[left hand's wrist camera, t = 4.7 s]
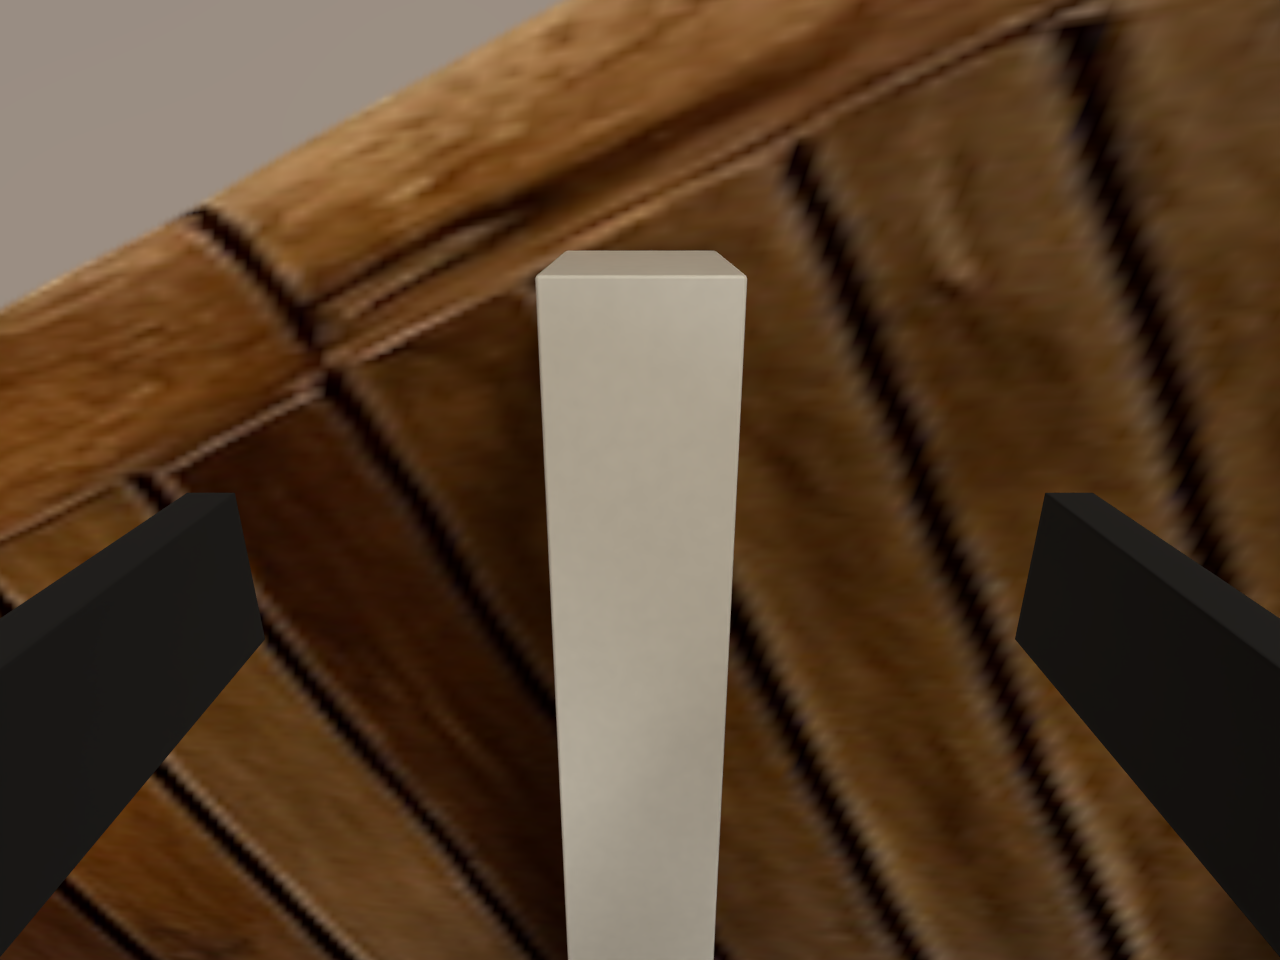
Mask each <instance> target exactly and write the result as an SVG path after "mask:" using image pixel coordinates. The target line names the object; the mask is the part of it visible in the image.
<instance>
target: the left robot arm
mask: <svg viewBox="0 0 1280 960" xmlns="http://www.w3.org/2000/svg"><path fill="white" fill-rule="evenodd" d="M264 640H265V637H264V632H263V627H262V623H261V618H260V613H259V608H258V603H257V598H256V594H255V589H254V584H253V579H252V574H251V570H250V565H249V560H248V555H247V550H246V545H245V541H244V536H243V531H242V526H241V521H240V516H239V512H238V507H237V502H236V497H235V493H186V494H185V495H184V496H182V497H181V498H179V499H178V500H176V501H175V502H173V503H172V504H170V505H169V506H167V507H166V508H164V509H163V510H161V511H160V512H158V513H157V514H155V515H154V516H152V517H151V518H149V519H148V520H146V521H145V522H143V523H142V524H140V525H139V526H137V527H136V528H134V529H133V530H131V531H130V532H128V533H127V534H125V535H124V536H122V537H121V538H120V539H118V540H117V541H115V542H114V543H112V544H111V545H109V546H108V547H106V548H105V549H103V550H102V551H100V552H99V553H97V554H96V555H94V556H93V557H91V558H90V559H88V560H87V561H85V562H84V563H82V564H81V565H79V566H78V567H76V568H75V569H73V570H72V571H70V572H69V573H67V574H66V575H64V576H63V577H61V578H60V579H58V580H57V581H55V582H54V583H53V584H51V585H50V586H48V587H47V588H45V589H44V590H42V591H41V592H39V593H38V594H36V595H35V596H33V597H32V598H30V599H29V600H27V601H26V602H24V603H23V604H21V605H20V606H18V607H17V608H15V609H14V610H12V611H11V612H9V613H8V614H6V615H5V616H3V617H2V618H0V956H1V955H2V954H3V953H4V952H5V950H6V949H7V948H8V947H9V946H10V944H11V943H12V942H13V941H14V940H15V938H16V937H17V936H18V935H19V934H20V932H21V931H22V930H23V929H24V928H25V926H26V925H27V924H28V923H29V922H30V920H31V919H32V918H33V917H34V916H35V914H36V913H37V912H38V911H39V910H40V908H41V907H42V906H43V905H44V904H45V902H46V901H47V900H48V899H49V898H50V896H51V895H52V894H53V893H54V892H55V890H56V889H57V888H58V887H59V886H60V884H61V883H62V882H63V881H64V880H65V878H66V877H67V876H68V875H69V874H70V872H71V871H72V870H73V869H74V868H75V866H76V865H77V864H78V863H79V862H80V860H81V859H82V858H83V857H84V856H85V854H86V853H87V852H88V851H89V850H90V848H91V847H92V846H93V845H94V844H95V842H96V841H97V840H98V839H99V838H100V836H101V835H102V834H103V833H104V832H105V830H106V829H107V828H108V827H109V826H110V824H111V823H112V822H113V821H114V820H115V818H116V817H117V816H118V815H119V814H120V812H121V811H122V810H123V809H124V808H125V806H126V805H127V804H128V803H129V802H130V800H131V799H132V798H133V797H134V796H135V794H136V793H137V792H138V791H139V790H140V788H141V787H142V786H143V785H144V784H145V782H146V781H147V780H148V779H149V778H150V776H151V775H152V774H153V773H154V772H155V770H156V769H157V768H158V767H159V766H160V764H161V763H162V762H163V761H164V760H165V758H166V757H167V756H168V755H169V754H170V752H171V751H172V750H173V749H174V748H175V746H176V745H177V744H178V743H179V742H180V740H181V739H182V738H183V737H184V736H185V734H186V733H187V732H188V731H189V730H190V728H191V727H192V726H193V725H194V724H195V722H196V721H197V720H198V719H199V718H200V716H201V715H202V714H203V713H204V712H205V710H206V709H207V708H208V707H209V706H210V704H211V703H212V702H213V701H214V700H215V698H216V697H217V696H218V695H219V694H220V692H221V691H222V690H223V689H224V688H225V686H226V685H227V684H228V683H229V682H230V680H231V679H232V678H233V677H234V676H235V674H236V673H237V672H238V671H239V670H240V668H241V667H242V666H243V665H244V664H245V662H246V661H247V660H248V659H249V658H250V656H251V655H252V654H253V653H254V652H255V650H256V649H257V648H258V647H259V646H260V644H261V643H262V642H263V641H264ZM1015 640H1016V641H1017V642H1018V643H1019V644H1020V646H1021V647H1022V648H1023V649H1024V650H1025V652H1026V653H1027V654H1028V655H1029V656H1030V658H1031V659H1032V660H1033V661H1034V662H1035V664H1036V665H1037V666H1038V667H1039V668H1040V670H1041V671H1042V672H1043V673H1044V674H1045V676H1046V677H1047V678H1048V679H1049V680H1050V682H1051V683H1052V684H1053V685H1054V686H1055V688H1056V689H1057V690H1058V691H1059V692H1060V694H1061V695H1062V696H1063V697H1064V698H1065V700H1066V701H1067V702H1068V703H1069V704H1070V706H1071V707H1072V708H1073V709H1074V710H1075V712H1076V713H1077V714H1078V715H1079V716H1080V718H1081V719H1082V720H1083V721H1084V722H1085V724H1086V725H1087V726H1088V727H1089V728H1090V730H1091V731H1092V732H1093V733H1094V734H1095V736H1096V737H1097V738H1098V739H1099V740H1100V742H1101V743H1102V744H1103V745H1104V746H1105V748H1106V749H1107V750H1108V751H1109V752H1110V754H1111V755H1112V756H1113V757H1114V758H1115V760H1116V761H1117V762H1118V763H1119V764H1120V766H1121V767H1122V768H1123V769H1124V770H1125V772H1126V773H1127V774H1128V775H1129V776H1130V778H1131V779H1132V780H1133V781H1134V782H1135V784H1136V785H1137V786H1138V787H1139V788H1140V790H1141V791H1142V792H1143V793H1144V794H1145V796H1146V797H1147V798H1148V799H1149V800H1150V802H1151V803H1152V804H1153V805H1154V806H1155V808H1156V809H1157V810H1158V811H1159V812H1160V814H1161V815H1162V816H1163V817H1164V818H1165V820H1166V821H1167V822H1168V823H1169V824H1170V826H1171V827H1172V828H1173V829H1174V830H1175V832H1176V833H1177V834H1178V835H1179V836H1180V838H1181V839H1182V840H1183V841H1184V842H1185V844H1186V845H1187V846H1188V847H1189V848H1190V850H1191V851H1192V852H1193V853H1194V854H1195V856H1196V857H1197V858H1198V859H1199V860H1200V862H1201V863H1202V864H1203V865H1204V866H1205V868H1206V869H1207V870H1208V871H1209V872H1210V874H1211V875H1212V876H1213V877H1214V878H1215V880H1216V881H1217V882H1218V883H1219V884H1220V886H1221V887H1222V888H1223V889H1224V890H1225V892H1226V893H1227V894H1228V895H1229V896H1230V898H1231V899H1232V900H1233V901H1234V902H1235V904H1236V905H1237V906H1238V907H1239V908H1240V910H1241V911H1242V912H1243V913H1244V914H1245V916H1246V917H1247V918H1248V919H1249V920H1250V922H1251V923H1252V924H1253V925H1254V926H1255V928H1256V929H1257V930H1258V931H1259V932H1260V934H1261V935H1262V936H1263V937H1264V938H1265V940H1266V941H1267V942H1268V943H1269V944H1270V946H1271V947H1272V948H1273V949H1274V950H1275V952H1276V953H1277V954H1278V955H1279V956H1280V618H1278V617H1277V616H1275V615H1274V614H1272V613H1271V612H1269V611H1268V610H1266V609H1265V608H1263V607H1262V606H1260V605H1259V604H1257V603H1256V602H1254V601H1253V600H1251V599H1250V598H1248V597H1247V596H1245V595H1244V594H1242V593H1241V592H1239V591H1238V590H1236V589H1235V588H1233V587H1232V586H1230V585H1229V584H1227V583H1226V582H1225V581H1223V580H1222V579H1220V578H1219V577H1217V576H1216V575H1214V574H1213V573H1211V572H1210V571H1208V570H1207V569H1205V568H1204V567H1202V566H1201V565H1199V564H1198V563H1196V562H1195V561H1193V560H1192V559H1190V558H1189V557H1187V556H1186V555H1184V554H1183V553H1181V552H1180V551H1178V550H1177V549H1175V548H1174V547H1172V546H1171V545H1169V544H1168V543H1166V542H1165V541H1163V540H1162V539H1160V538H1159V537H1158V536H1156V535H1155V534H1153V533H1152V532H1150V531H1149V530H1147V529H1146V528H1144V527H1143V526H1141V525H1140V524H1138V523H1137V522H1135V521H1134V520H1132V519H1131V518H1129V517H1128V516H1126V515H1125V514H1123V513H1122V512H1120V511H1119V510H1117V509H1116V508H1114V507H1113V506H1111V505H1110V504H1108V503H1107V502H1105V501H1104V500H1102V499H1101V498H1099V497H1098V496H1096V495H1095V494H1094V493H1045V497H1044V502H1043V507H1042V512H1041V516H1040V521H1039V526H1038V531H1037V536H1036V541H1035V545H1034V550H1033V555H1032V560H1031V565H1030V570H1029V574H1028V579H1027V584H1026V589H1025V594H1024V598H1023V603H1022V608H1021V613H1020V618H1019V623H1018V627H1017V632H1016V637H1015Z"/></svg>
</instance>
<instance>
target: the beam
mask: <svg viewBox="0 0 1280 960" xmlns="http://www.w3.org/2000/svg"><path fill="white" fill-rule="evenodd" d="M535 283H536V304H537V325H538V346H539V367H540V388H541V408H542V429H543V450H544V471H545V492H546V512H547V533H548V554H549V575H550V596H551V616H552V637H553V658H554V679H555V700H556V720H557V741H558V762H559V783H560V804H561V824H562V845H563V866H564V887H565V908H566V929H567V949H568V960H713V958H714V938H715V918H716V898H717V877H718V857H719V837H720V817H721V797H722V776H723V756H724V736H725V716H726V696H727V675H728V655H729V635H730V615H731V595H732V574H733V554H734V534H735V514H736V493H737V473H738V453H739V433H740V413H741V392H742V372H743V352H744V332H745V312H746V291H747V277H746V275H744V274H743V273H742V272H741V271H739V270H738V269H737V268H736V267H735V266H733V265H732V264H731V263H730V262H728V261H727V260H726V259H725V258H724V257H722V256H721V255H720V254H719V253H717V252H716V251H565V252H564V253H563V254H562V255H561V256H559V257H558V258H557V259H556V260H555V261H553V262H552V263H551V264H550V265H549V266H548V267H546V268H545V269H544V270H543V271H542V272H540V273H539V274H538V275H537V276H536V278H535Z"/></svg>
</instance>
